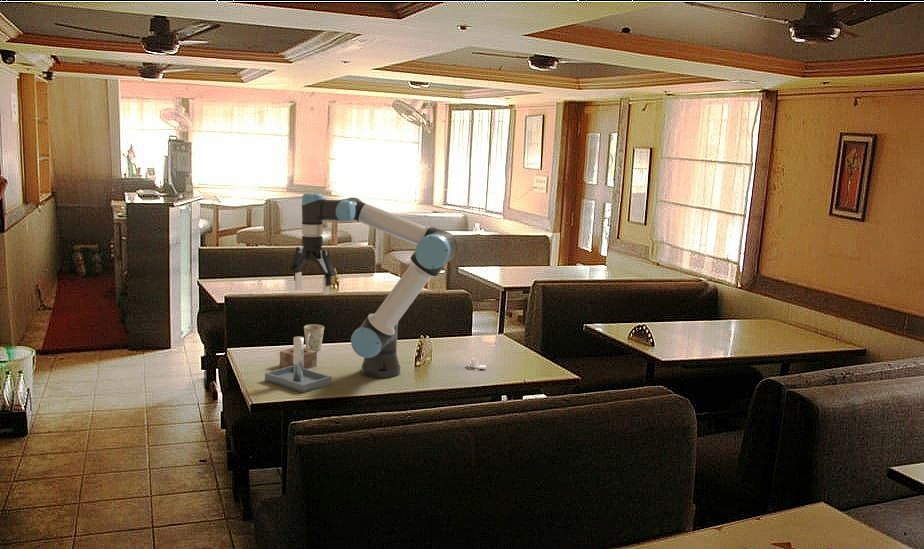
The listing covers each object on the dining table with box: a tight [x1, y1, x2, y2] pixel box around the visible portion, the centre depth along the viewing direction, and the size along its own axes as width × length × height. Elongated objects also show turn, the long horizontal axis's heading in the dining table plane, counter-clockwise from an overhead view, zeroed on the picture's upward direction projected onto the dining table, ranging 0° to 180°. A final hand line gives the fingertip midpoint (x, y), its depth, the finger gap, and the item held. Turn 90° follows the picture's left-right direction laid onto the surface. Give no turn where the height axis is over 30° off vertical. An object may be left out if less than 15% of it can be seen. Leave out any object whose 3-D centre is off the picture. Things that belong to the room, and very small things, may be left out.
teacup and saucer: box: [468, 357, 487, 370], centre depth 309 cm, size 9×8×4 cm
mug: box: [303, 323, 325, 352], centre depth 320 cm, size 8×13×10 cm, turn 174°
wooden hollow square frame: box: [279, 347, 318, 370], centre depth 298 cm, size 10×10×6 cm
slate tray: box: [264, 366, 333, 394], centre depth 278 cm, size 20×14×3 cm
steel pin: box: [293, 335, 305, 382], centre depth 277 cm, size 4×4×16 cm
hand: (312, 292), depth 283 cm, fingers open, 13 cm apart
